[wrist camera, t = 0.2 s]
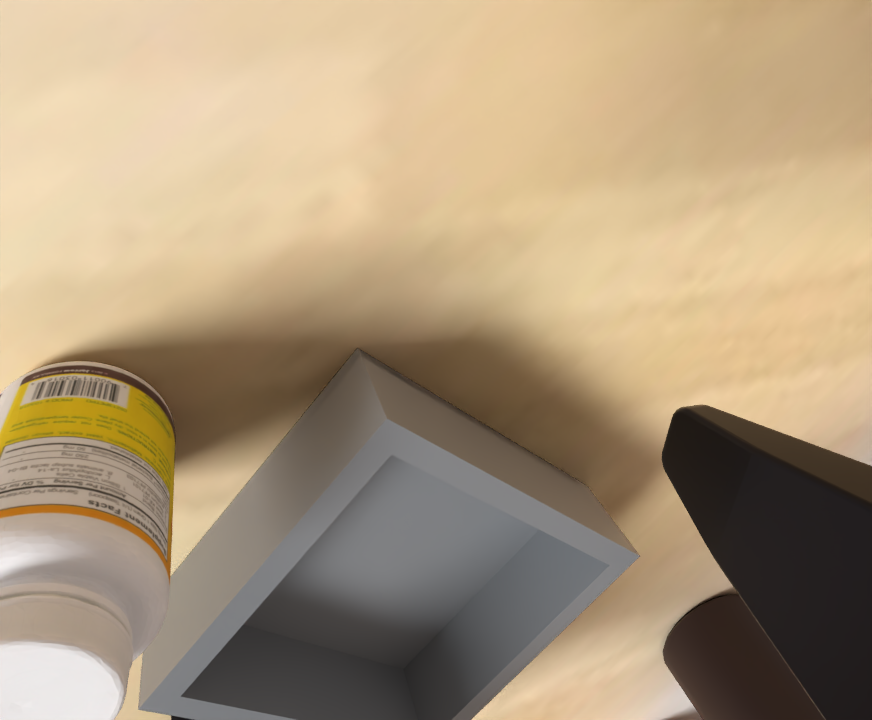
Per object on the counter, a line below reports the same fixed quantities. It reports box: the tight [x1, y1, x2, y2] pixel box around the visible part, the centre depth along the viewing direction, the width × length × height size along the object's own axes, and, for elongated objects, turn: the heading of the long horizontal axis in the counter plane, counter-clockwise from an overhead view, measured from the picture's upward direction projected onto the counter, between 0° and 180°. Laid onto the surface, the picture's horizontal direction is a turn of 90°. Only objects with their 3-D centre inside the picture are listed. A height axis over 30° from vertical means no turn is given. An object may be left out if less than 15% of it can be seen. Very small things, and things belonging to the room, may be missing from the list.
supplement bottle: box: [0, 361, 176, 720], centre depth 18 cm, size 6×6×10 cm
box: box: [138, 348, 640, 720], centre depth 27 cm, size 14×14×4 cm
